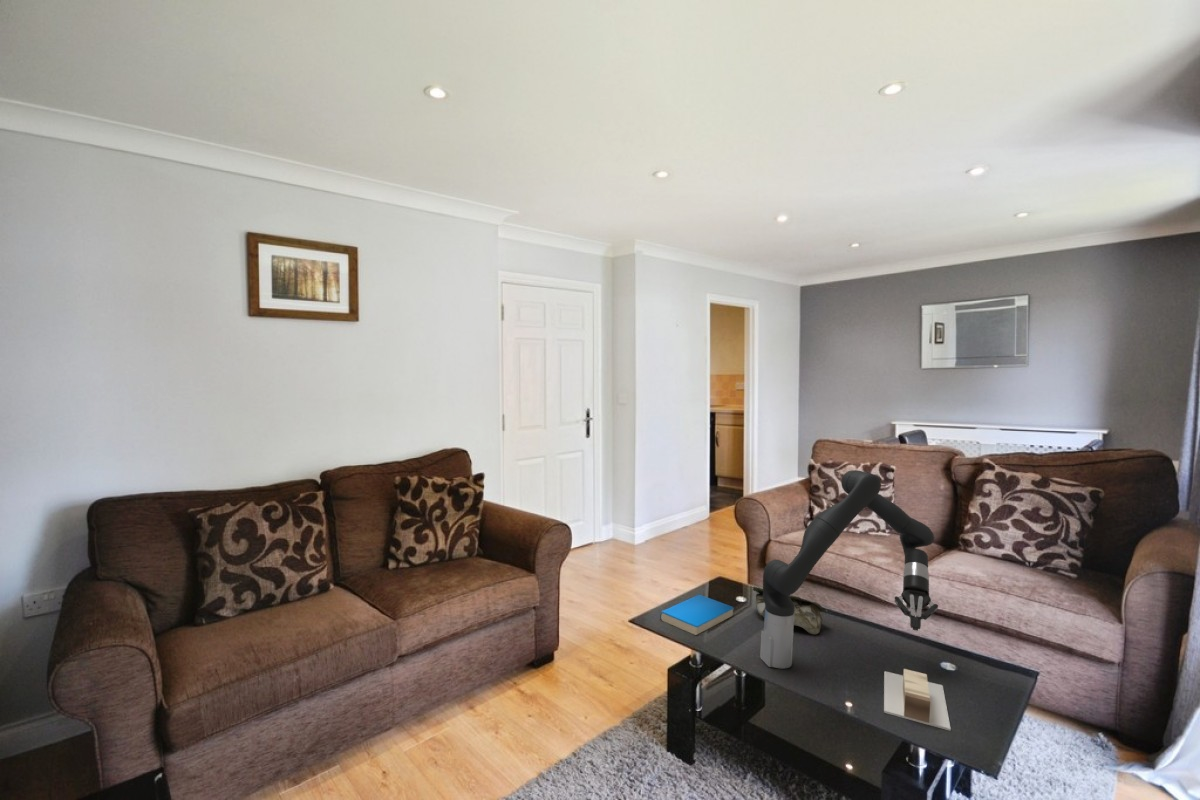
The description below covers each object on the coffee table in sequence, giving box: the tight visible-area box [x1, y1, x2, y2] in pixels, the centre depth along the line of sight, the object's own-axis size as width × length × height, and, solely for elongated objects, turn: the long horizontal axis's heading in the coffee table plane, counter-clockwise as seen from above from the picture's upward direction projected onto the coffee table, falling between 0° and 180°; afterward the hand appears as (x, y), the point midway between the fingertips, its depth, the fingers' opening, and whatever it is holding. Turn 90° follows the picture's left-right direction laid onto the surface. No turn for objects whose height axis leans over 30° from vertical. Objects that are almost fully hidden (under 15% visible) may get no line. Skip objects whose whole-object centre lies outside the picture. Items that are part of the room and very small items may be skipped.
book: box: [659, 594, 735, 636], centre depth 214 cm, size 17×4×25 cm
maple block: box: [902, 668, 930, 723], centre depth 159 cm, size 6×6×16 cm
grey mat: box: [883, 671, 952, 732], centre depth 163 cm, size 24×16×1 cm, turn 153°
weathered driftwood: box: [752, 586, 828, 635], centre depth 211 cm, size 28×13×15 cm
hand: (915, 629), depth 176 cm, fingers closed
